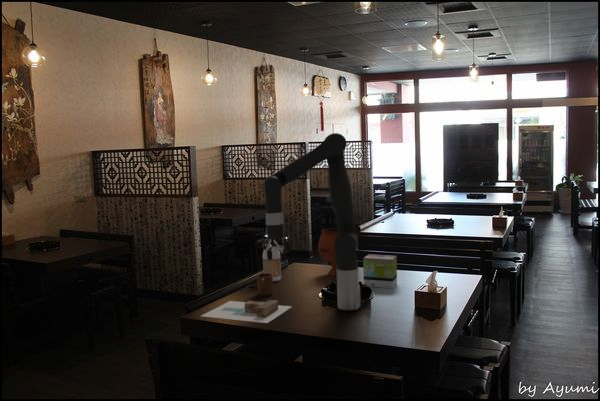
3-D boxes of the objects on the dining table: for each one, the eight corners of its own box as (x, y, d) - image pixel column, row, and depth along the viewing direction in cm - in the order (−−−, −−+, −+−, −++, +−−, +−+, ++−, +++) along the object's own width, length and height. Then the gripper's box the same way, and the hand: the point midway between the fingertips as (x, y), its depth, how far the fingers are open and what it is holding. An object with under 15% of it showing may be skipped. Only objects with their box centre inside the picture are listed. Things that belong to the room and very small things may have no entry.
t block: (278, 309, 234) (277, 300, 233) (265, 317, 223) (265, 308, 223) (253, 307, 239) (253, 298, 238) (240, 315, 228) (239, 305, 227)
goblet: (360, 272, 299) (359, 228, 297) (339, 279, 285) (338, 232, 282) (333, 268, 312) (331, 226, 309) (312, 275, 297) (310, 230, 295)
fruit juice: (265, 282, 285) (262, 230, 283) (262, 278, 294) (260, 227, 292) (282, 280, 287) (280, 228, 285) (279, 277, 296) (277, 226, 294)
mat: (292, 306, 238) (292, 306, 238) (267, 323, 216) (267, 322, 216) (229, 301, 251) (229, 300, 251) (200, 316, 229) (200, 316, 229)
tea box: (363, 287, 268) (362, 257, 266) (368, 282, 277) (367, 253, 276) (393, 288, 262) (392, 258, 261) (397, 283, 271) (396, 254, 270)
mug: (270, 298, 253) (270, 279, 252) (254, 298, 253) (254, 279, 252) (274, 292, 265) (273, 273, 264) (259, 292, 265) (258, 273, 264)
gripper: (292, 222, 227) (294, 260, 228) (269, 221, 237) (271, 257, 238) (280, 225, 222) (282, 263, 223) (256, 223, 231) (259, 260, 233)
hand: (276, 260), depth 230 cm, fingers open, 8 cm apart
